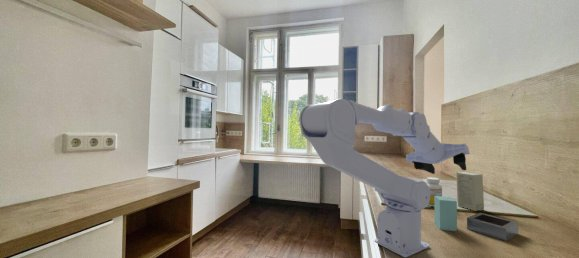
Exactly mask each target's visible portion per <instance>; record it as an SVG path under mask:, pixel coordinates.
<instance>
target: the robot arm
mask: <svg viewBox="0 0 579 258" xmlns="http://www.w3.org/2000/svg"><path fill="white" fill-rule="evenodd" d="M299 113H300V114H299V119H298V120H299V126H300V127H299V128H300V131H301V136H303V137H304V139H306V140H308V141H309V143H310V144H311V145H312V147H313V149H314V150H315V152H316V154H317V155H318V156H319V158H320V159H321V161H322V162H323V163H324V165H326V166H328V167H331V168H333V169H334V170H336V171H338V172H340V173H343V174H344V175H348V176H349V177H351V178H353V179H355V180H358V181H359V182H361V183H363V184H366V185H368V186H370V187H372V188H374V191H375V192H377V193H378V194H379V195H380V197H381V198H382V199H383V204H385V205H386V206H385V208H384V209H383V210H381V211H380V212H379V213H378V215H377V221H376V222H377V238H376V239H374V243H376V244H378V245H380V246H381V247H384V248H386V249H387V250H389V251H391V252H393V253H395V254H396V255H399V256H401V257H403V258H408V257H410V256H412V255H415V254H417V253H419V252H421V251H423V250H425V249H428V248H430V244H429V243H427V242H425V241H423V240H422V217H421V216H422V210H424V209H426V207H428V203H429V201H430V189H429V187H428V185H427V181H424V180H417V179H416V180H414V179H411V178H408V177H405V176H403V175H402V176H401V175H399V174H398V173H395V172H394V171H392V170H390V169H388V168H386V167H385V166H383V165H381V164H380V163H378V162H376V161H374V160H372V159H371V158H369V157H368V156H366V155H364V154H361V153H360V152H359V151H357V150H355V149H354V148H355V138H356V137H355V136H356V126H357V125H358V124H365V125H372V127H373V129H374V130H375V131H377V132H381V133H385V134H391V135H392V136H393V137H397V136H398V137H402V138H403V139H404V141H406V142H407V143H408V144H409V145H410V146H411V147H412V149H414V151H412V152H411V153H407V154H406V155H405V161H406V162H407V163H408V164H413V167H414V169H416V170H421V171H425V172H426V173H427V172H428V173H430V174H433V175H434V174H436V167H435V166H434V165H435V164H436V165H437V164H440V163H442V162H444V161H446V160H448V159H451V158H452V160H453V164H454V165H457V166H459V167H460V169H461V170H462V171H467V166H466V165H467V164H466V163H467V162H466V159H467V158H466V156H467V155H469V154H470V149H469V146H468V145H467V144H466V143H459V144H458V143H443V142H442V143H441V142H440V141H439V139H438V138H437V137H436V136H435V135H434V134H433V132H432V131H431V128H430V127H431V126H429V125H428V123H427V121H428V120H427V118H426V115H425V113H420V112H418V111H411V112H408V111H406V109H404V108H398V109H397V108H395V107H394V105H392V104H383V106H379V107H378V108H373V107H370V106H366V105H364V104H360V103H357V102H355V100H351V99H349V100H347V99H345V98H337V99H334V100H333V101H332V100H331V101H326V102H321V103H313V104H312V103H311V104H307V105H305V106H304V107H303V108H302V109H301V111H300V112H299Z"/></svg>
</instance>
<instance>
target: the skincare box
mask: <svg viewBox="0 0 579 258" xmlns="http://www.w3.org/2000/svg"><path fill="white" fill-rule="evenodd" d="M455 173H456V174H455V176H456V194H457V197H456V198H457V200H456V201H457V207H460V208H463V207H464V209H467V208H468V210H470V209H471V210H470V211H474V212H477V211H478V210H479V211H484V210H485V204H484V203H485V200H484V180H483V176H484V175H483V174H482V173H475V172H470V171H460V172H459V171H457V172H455ZM483 209H484V210H483Z"/></svg>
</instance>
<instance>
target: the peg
mask: <svg viewBox="0 0 579 258" xmlns="http://www.w3.org/2000/svg"><path fill="white" fill-rule="evenodd" d="M433 208H434V225H435V226H436V227H437V228H438V229H439V230H442V231H451V232H457V231H458V212H457V211H458V200H455V199H454V198H452V197H450V196H443V195H442V196H434V207H433Z"/></svg>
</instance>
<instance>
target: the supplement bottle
mask: <svg viewBox="0 0 579 258" xmlns="http://www.w3.org/2000/svg"><path fill="white" fill-rule="evenodd" d="M440 182H441V181H440V178H438V177H429V176H428V177H426V183H427V185H428V187H429V189H430V201H429V203H428V205H429V206H428V205H427V206H428V207H431V206H434V196H442V197H443V187H442V185H441V184H440Z"/></svg>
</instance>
